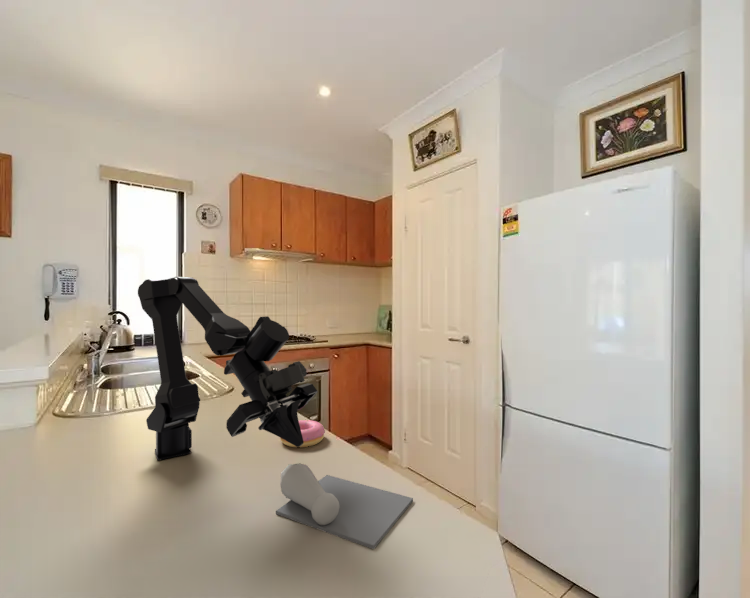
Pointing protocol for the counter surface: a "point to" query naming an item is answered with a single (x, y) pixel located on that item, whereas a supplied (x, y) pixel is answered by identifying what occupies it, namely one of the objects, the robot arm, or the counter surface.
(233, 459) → the counter surface
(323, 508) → the salt shaker
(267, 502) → the counter surface
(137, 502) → the counter surface
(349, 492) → the mat
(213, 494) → the counter surface
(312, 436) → the doughnut
